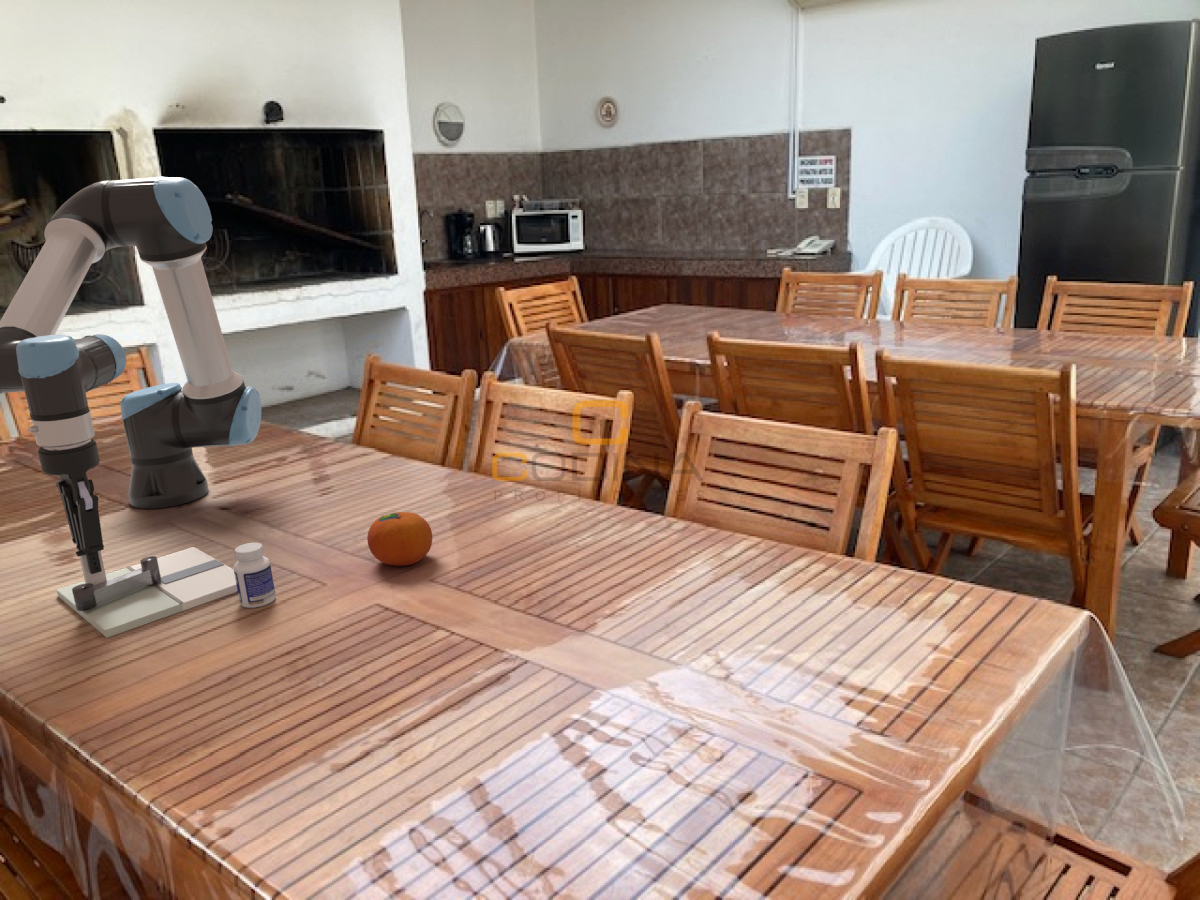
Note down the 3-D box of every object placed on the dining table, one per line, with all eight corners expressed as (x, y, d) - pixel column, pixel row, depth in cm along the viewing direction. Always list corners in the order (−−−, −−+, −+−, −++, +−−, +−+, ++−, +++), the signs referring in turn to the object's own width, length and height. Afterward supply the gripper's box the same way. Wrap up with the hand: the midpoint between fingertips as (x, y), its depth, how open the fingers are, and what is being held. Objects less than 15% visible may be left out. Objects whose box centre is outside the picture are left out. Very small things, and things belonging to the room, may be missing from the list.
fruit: (447, 553, 158) (442, 508, 156) (410, 577, 149) (404, 531, 147) (395, 546, 163) (390, 502, 160) (357, 569, 154) (350, 523, 151)
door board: (194, 553, 164) (193, 545, 164) (252, 586, 149) (251, 578, 149) (58, 596, 149) (56, 588, 149) (106, 637, 134) (104, 629, 134)
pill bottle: (283, 595, 145) (274, 542, 143) (261, 610, 140) (251, 555, 138) (255, 592, 147) (245, 539, 144) (232, 606, 142) (222, 552, 140)
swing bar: (155, 578, 151) (150, 555, 149) (165, 581, 149) (160, 558, 148) (73, 610, 140) (67, 585, 139) (82, 614, 139) (77, 589, 138)
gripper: (27, 440, 139) (60, 585, 146) (48, 457, 130) (82, 611, 137) (82, 429, 143) (111, 570, 150) (106, 445, 134) (136, 595, 141)
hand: (97, 590), depth 144 cm, fingers closed
